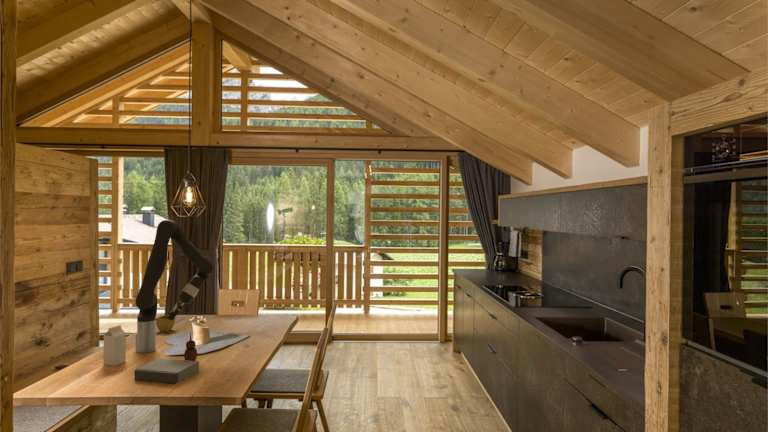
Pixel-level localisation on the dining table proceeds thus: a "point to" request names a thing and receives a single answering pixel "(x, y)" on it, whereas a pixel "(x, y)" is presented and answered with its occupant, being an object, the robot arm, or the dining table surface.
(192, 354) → the wooden figurine
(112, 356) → the milk carton
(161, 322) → the flower pot
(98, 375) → the dining table surface
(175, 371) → the block
